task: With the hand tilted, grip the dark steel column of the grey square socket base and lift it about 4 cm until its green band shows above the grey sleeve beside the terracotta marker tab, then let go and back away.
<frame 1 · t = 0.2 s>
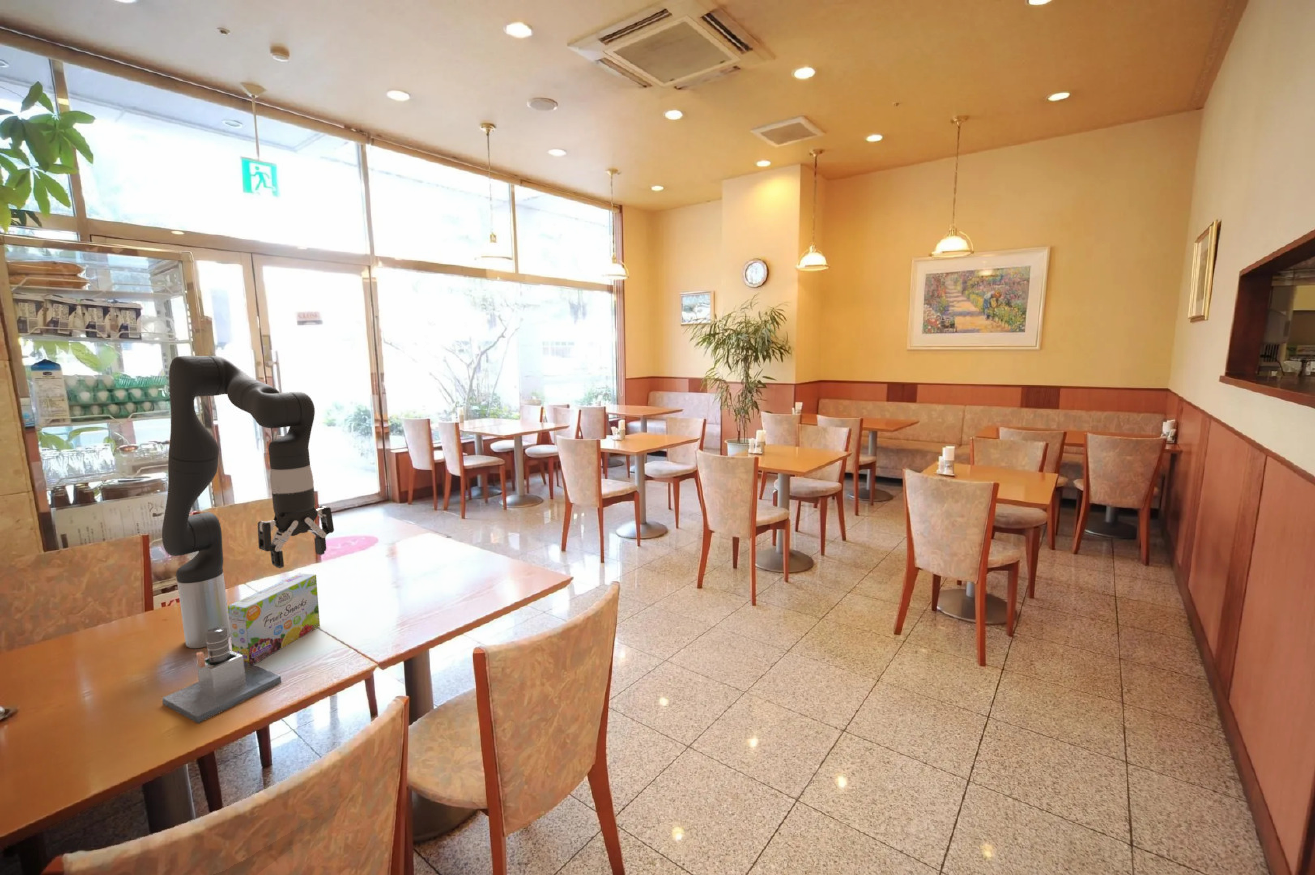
hand: (300, 560, 122), 29 cm above the table, tool pointing down, fingers open, 8 cm apart
grey square socket base: (224, 693, 123), on the table
snack box: (280, 645, 144), on the table
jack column: (219, 657, 122), point 8 cm above the table, slide at 0.0 cm
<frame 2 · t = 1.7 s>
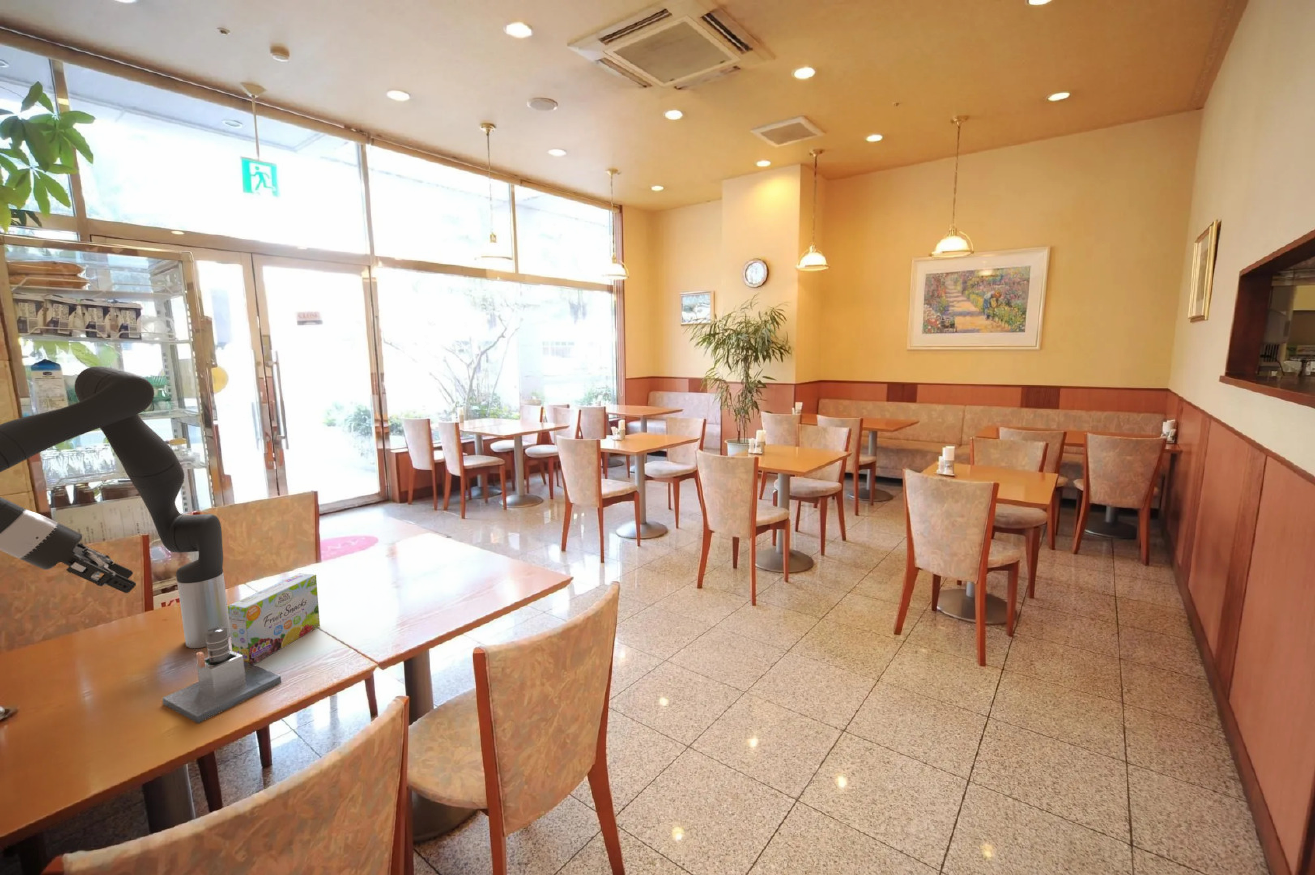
hand: (130, 582, 112), 29 cm above the table, tool tilted 45°, fingers open, 8 cm apart
nothing on the table moved.
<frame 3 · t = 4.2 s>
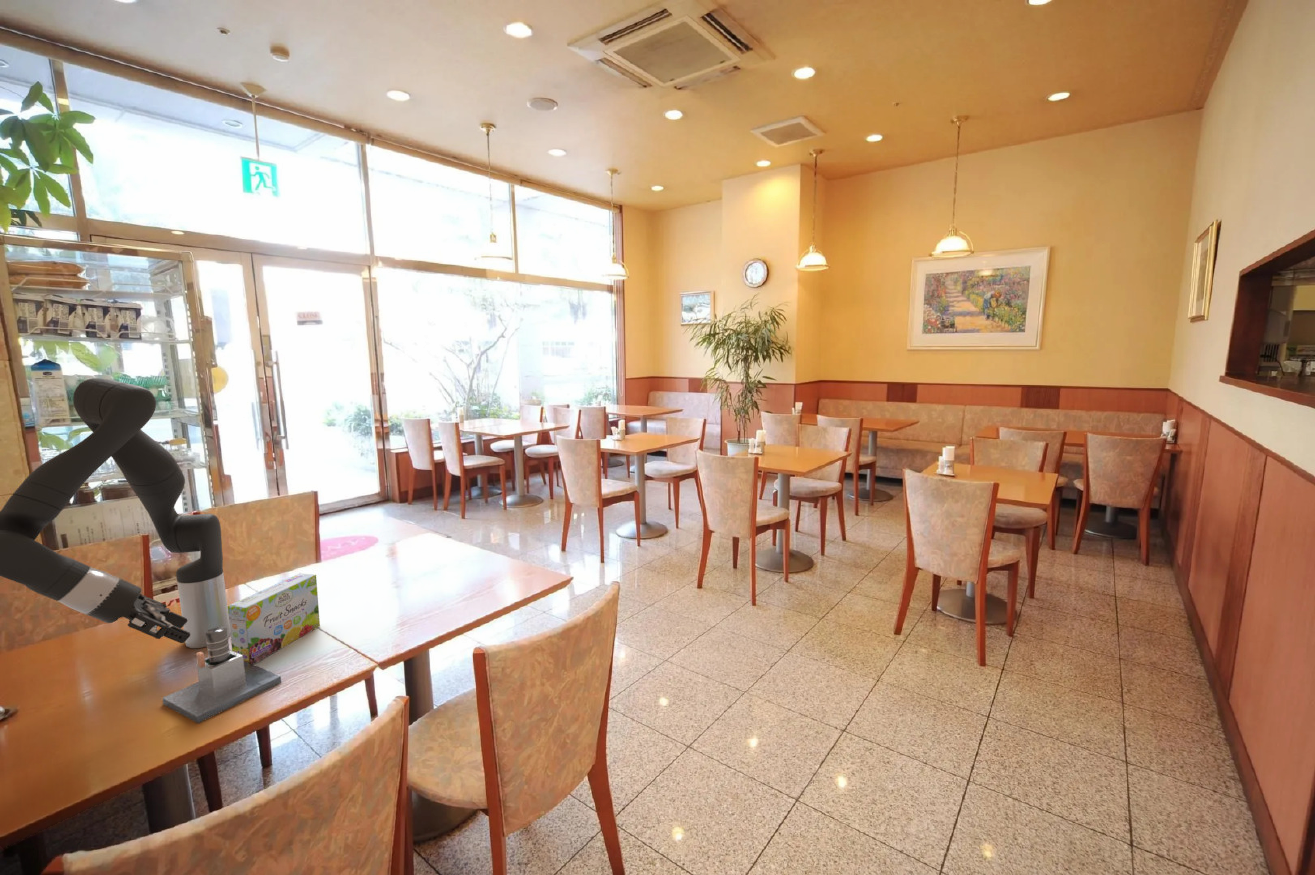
hand: (185, 631, 118), 16 cm above the table, tool tilted 45°, fingers open, 8 cm apart
nothing on the table moved.
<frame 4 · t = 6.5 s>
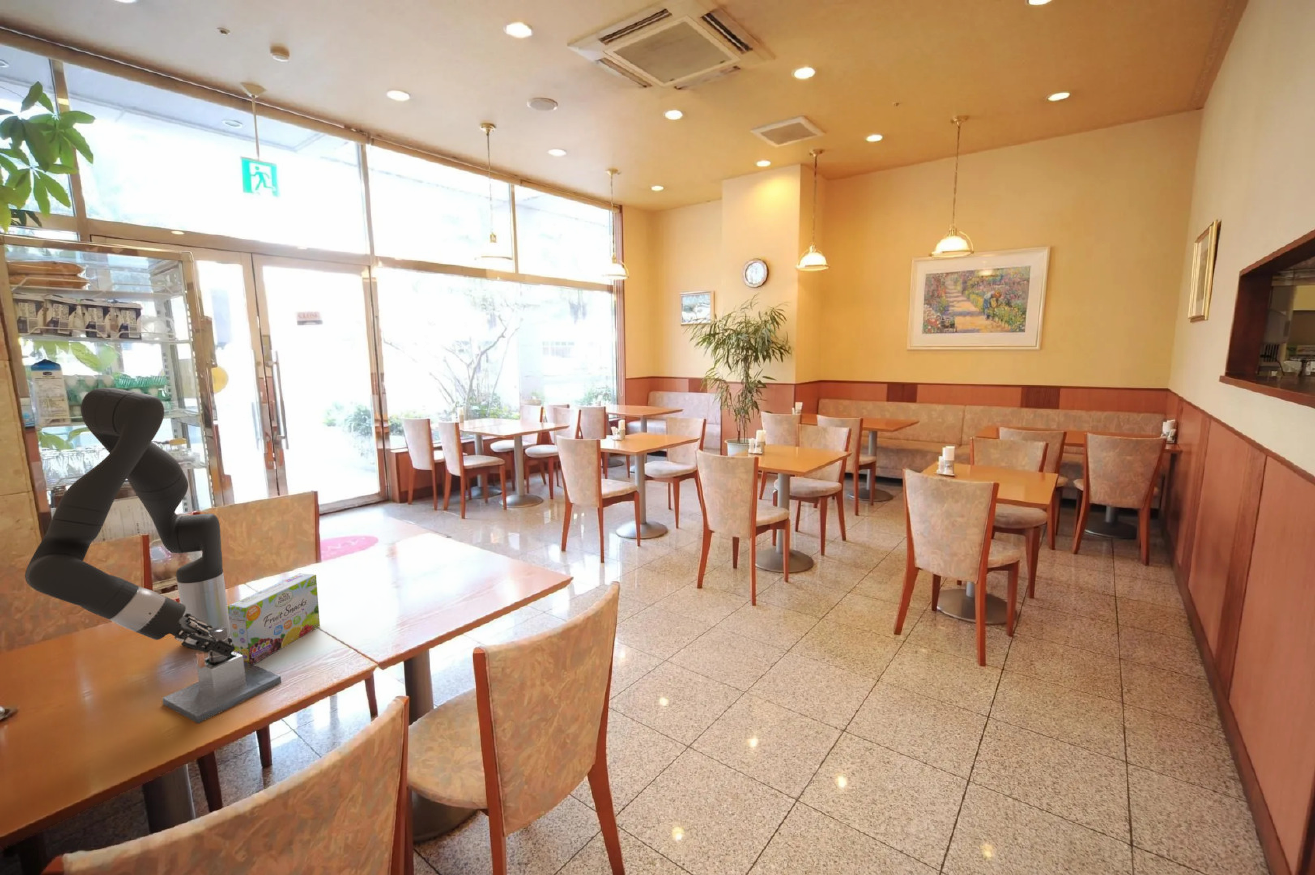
hand: (230, 647, 123), 10 cm above the table, tool tilted 45°, fingers closed on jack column, 3 cm apart
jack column: (219, 657, 122), point 8 cm above the table, slide at 0.0 cm, touching gripper
everything else where it was.
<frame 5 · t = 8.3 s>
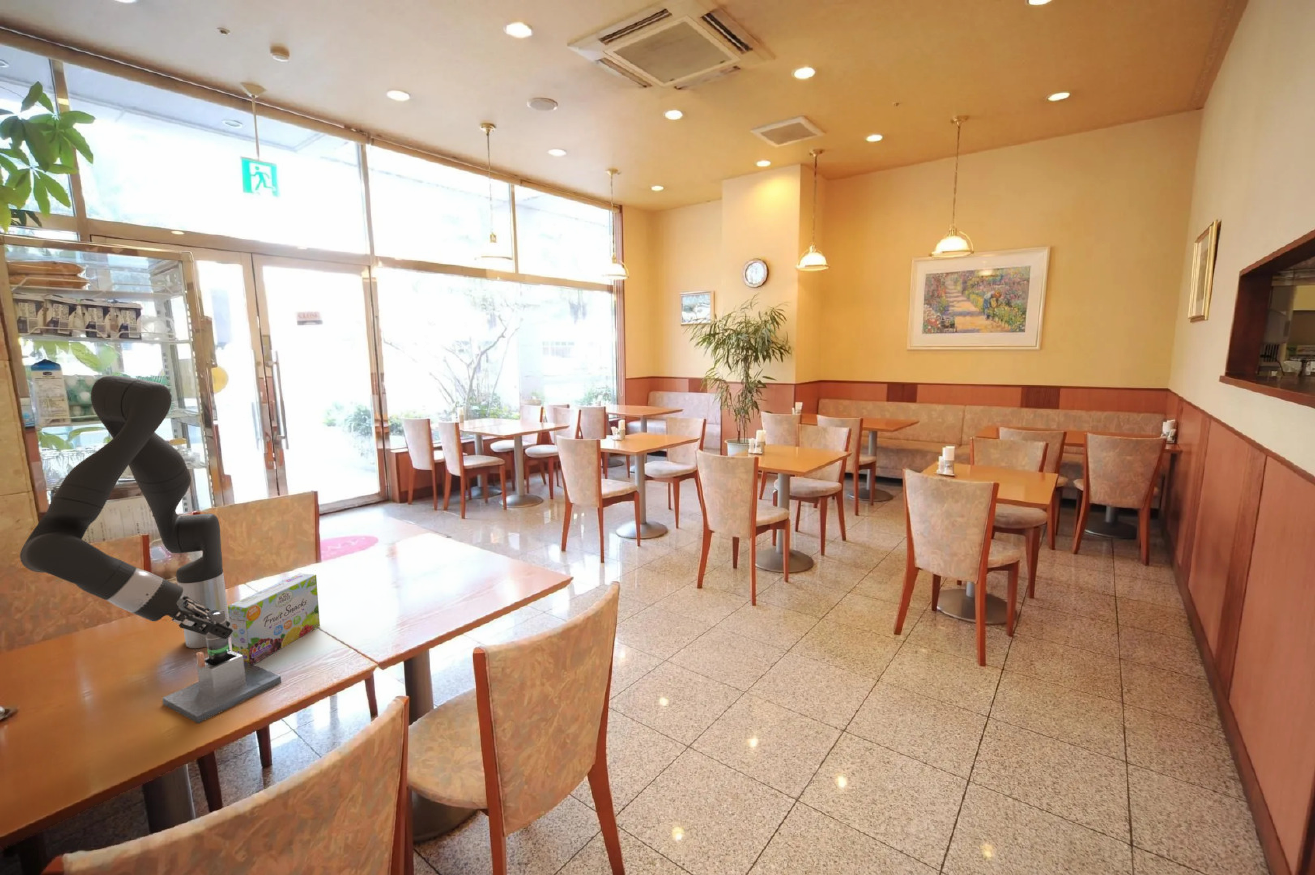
hand: (228, 630, 123), 14 cm above the table, tool tilted 45°, fingers closed on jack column, 3 cm apart
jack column: (217, 640, 122), point 12 cm above the table, slide at 3.9 cm, touching gripper
everything else where it was.
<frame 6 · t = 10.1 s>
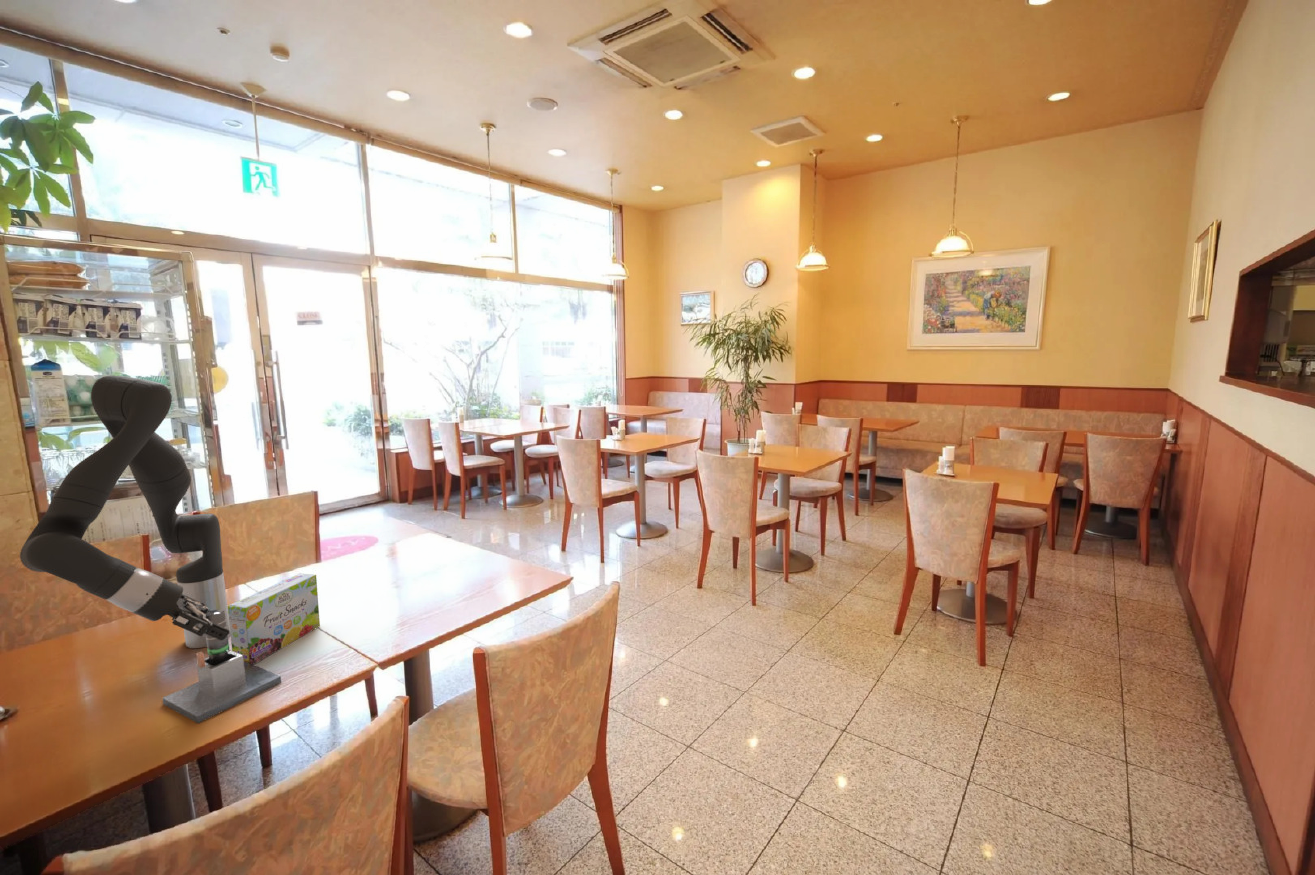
hand: (224, 628, 122), 14 cm above the table, tool tilted 45°, fingers open, 8 cm apart
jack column: (217, 640, 122), point 12 cm above the table, slide at 4.0 cm
everything else where it was.
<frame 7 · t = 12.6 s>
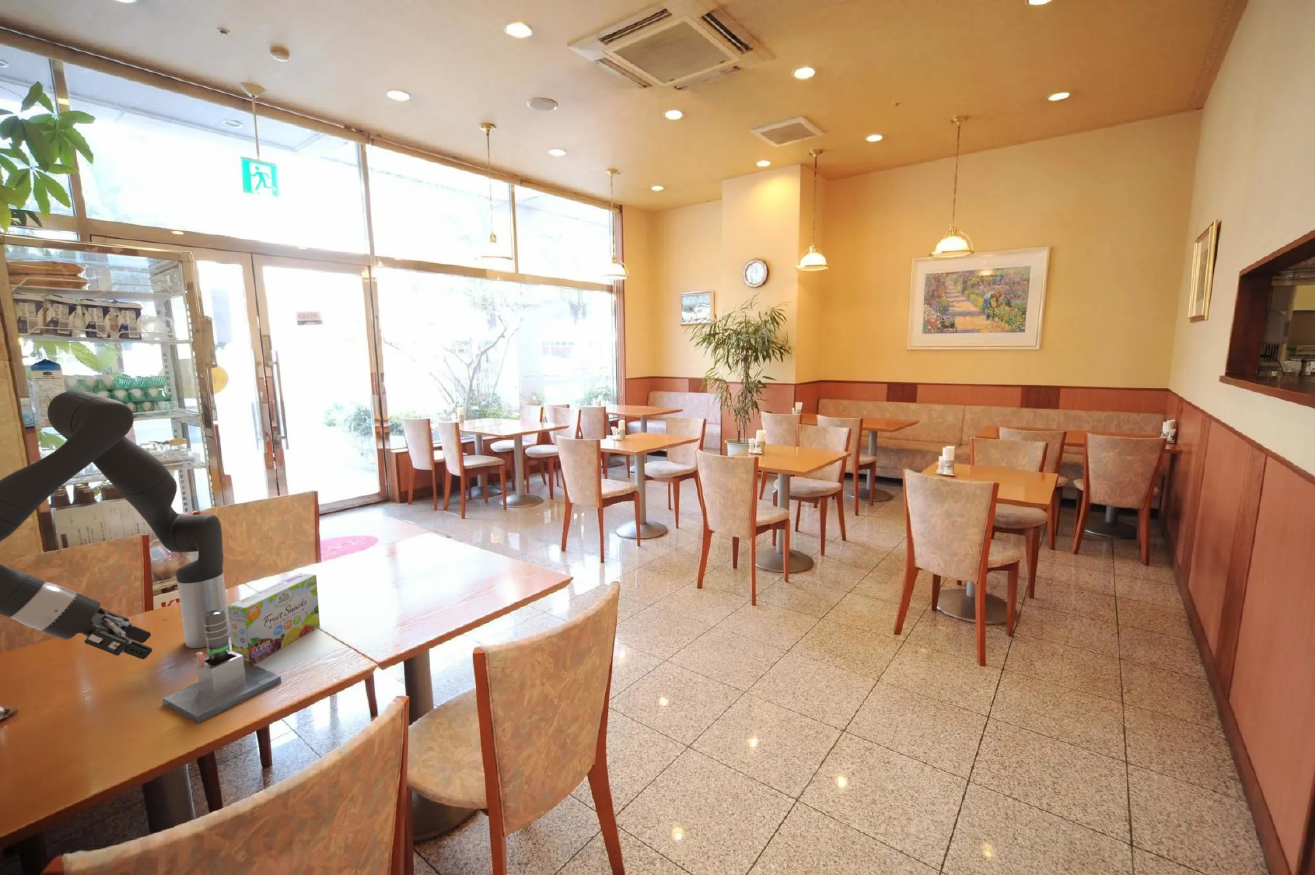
hand: (148, 646, 114), 15 cm above the table, tool tilted 45°, fingers open, 8 cm apart
nothing on the table moved.
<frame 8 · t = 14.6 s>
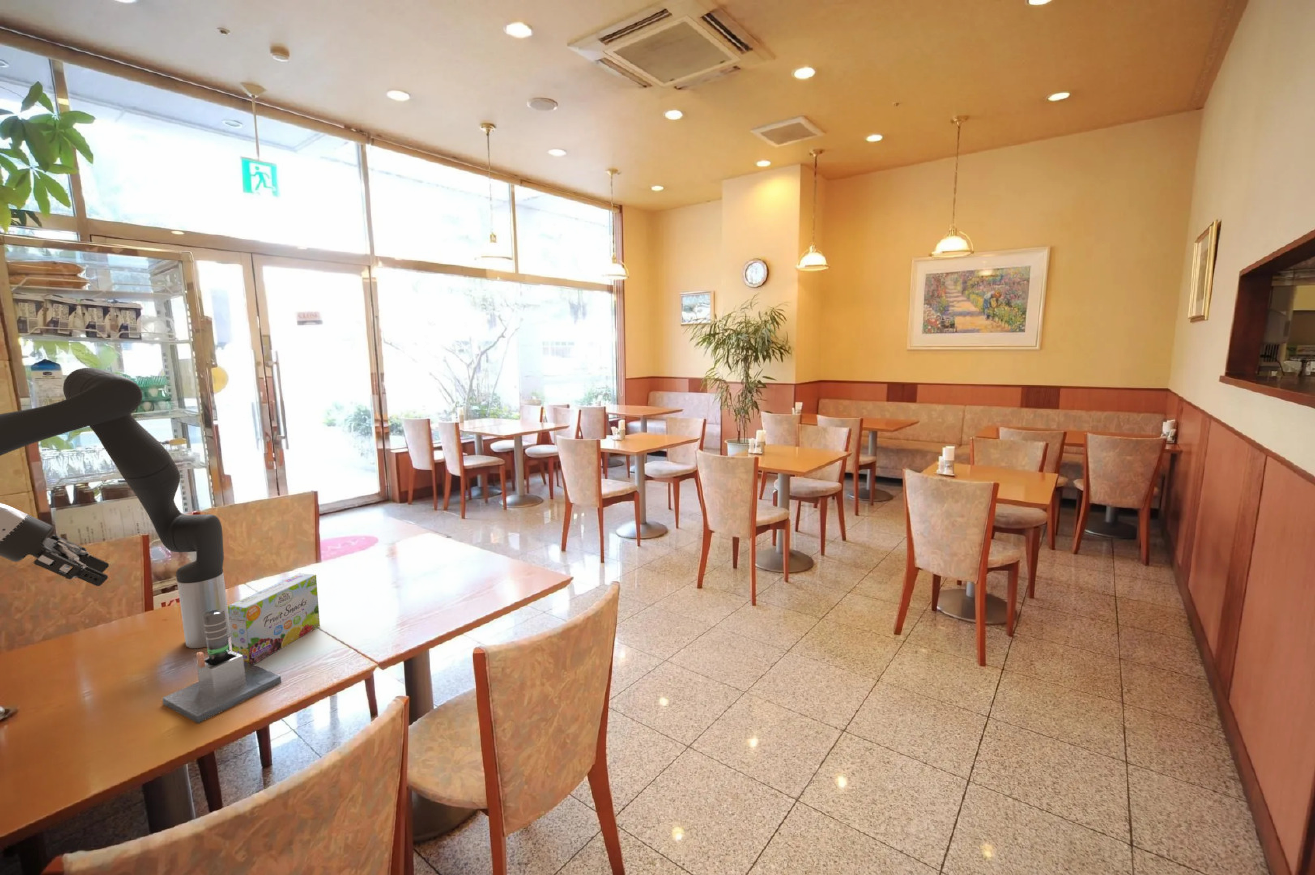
hand: (104, 575, 110), 31 cm above the table, tool tilted 45°, fingers open, 8 cm apart
nothing on the table moved.
at the end: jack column slide at 4.0 cm; the gripper is holding nothing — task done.
